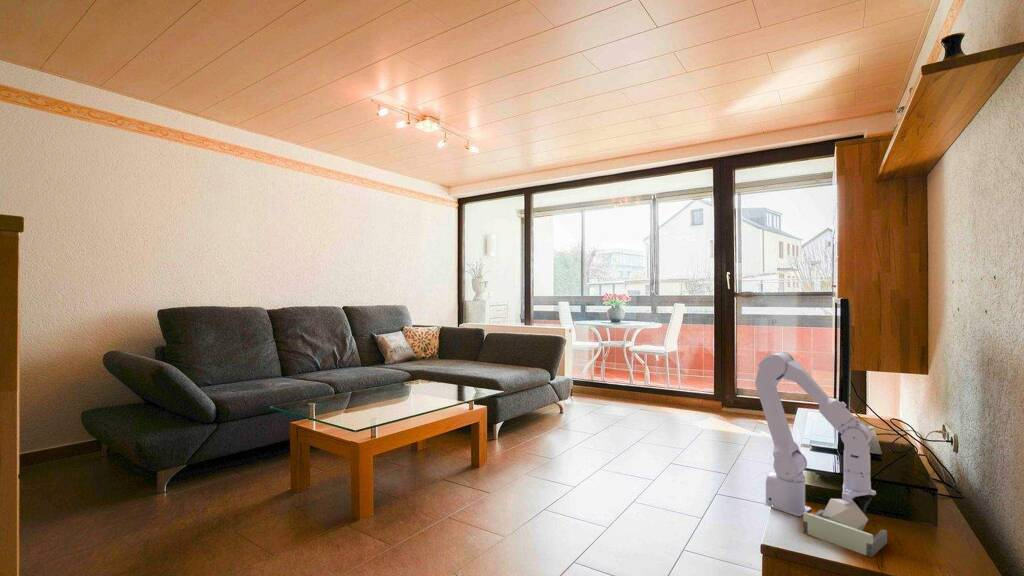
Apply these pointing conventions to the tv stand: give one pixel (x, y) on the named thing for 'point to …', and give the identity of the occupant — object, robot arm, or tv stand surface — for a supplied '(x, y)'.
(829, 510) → the die
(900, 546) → the tv stand surface
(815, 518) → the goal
